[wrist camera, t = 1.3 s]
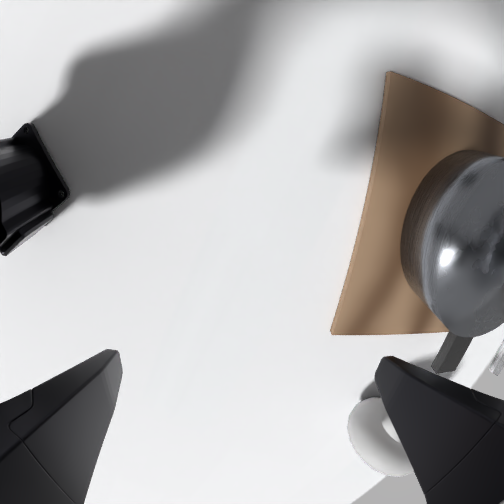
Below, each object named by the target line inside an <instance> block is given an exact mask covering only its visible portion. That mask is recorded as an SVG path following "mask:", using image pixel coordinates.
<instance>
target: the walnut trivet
mask: <svg viewBox="0 0 504 504" xmlns="http://www.w3.org/2000/svg"><path fill="white" fill-rule="evenodd" d="M462 150H477V151H481V152H485V153H489V154H493V155H497V156H501V157H504V124H502V123H500V122H499V121H497V120H495V119H494V118H492V117H490V116H488V115H487V114H485V113H483V112H481V111H479V110H477V109H475V108H474V107H472V106H470V105H468V104H466V103H464V102H462V101H460V100H458V99H456V98H454V97H452V96H449V95H447V94H445V93H443V92H441V91H439V90H436V89H434V88H432V87H429V86H427V85H425V84H422V83H420V82H417V81H415V80H412V79H410V78H407V77H405V76H402V75H399V74H397V73H394V72H391V71H389V72H386V80H385V88H384V96H383V103H382V111H381V117H380V124H379V130H378V136H377V142H376V148H375V154H374V159H373V165H372V170H371V175H370V180H369V185H368V190H367V194H366V199H365V204H364V208H363V212H362V217H361V221H360V225H359V230H358V234H357V238H356V242H355V246H354V250H353V253H352V257H351V261H350V265H349V269H348V272H347V276H346V279H345V283H344V286H343V290H342V293H341V297H340V300H339V303H338V307H337V310H336V313H335V317H334V320H333V323H332V326H331V329H330V332H331V334H332V335H391V334H418V333H437V332H449V330H448V329H447V328H446V326H445V325H444V324H443V323H442V322H441V321H440V320H439V319H438V317H437V316H436V315H435V314H434V313H433V312H432V311H431V310H430V309H429V308H428V307H427V305H426V304H425V303H424V302H423V301H422V300H421V299H420V298H419V297H418V296H417V295H416V294H415V293H414V291H413V290H412V289H411V288H410V286H409V284H408V283H407V281H406V278H405V276H404V273H403V269H402V265H401V257H400V241H401V232H402V227H403V222H404V219H405V215H406V212H407V209H408V206H409V204H410V202H411V199H412V197H413V195H414V193H415V191H416V189H417V187H418V186H419V184H420V183H421V181H422V180H423V178H424V177H425V176H426V175H427V173H428V172H429V171H430V170H431V169H432V168H433V167H434V166H435V165H436V164H437V163H438V162H439V161H441V160H442V159H444V158H445V157H446V156H448V155H450V154H453V153H455V152H458V151H462Z"/></svg>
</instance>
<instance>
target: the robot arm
mask: <svg viewBox="0 0 504 504" xmlns="http://www.w3.org/2000/svg"><path fill="white" fill-rule="evenodd" d="M27 128H29V132H28V133H27ZM61 190H62V191H63V192H64V196H62V195H61ZM69 195H70V191H69V188H68V187H67V185H66V183H65V182H64V180H63V178H62V177H61V175H60V173H59V171H58V170H57V168H56V166H55V164H54V163H53V161H52V159H51V157H50V155H49V154H48V152H47V150H46V148H45V146H44V144H43V142H42V140H41V139H40V137H39V135H38V133H37V131H36V129H35V127H34V125H33V124H32V123H25V124H24V125H23V126H22V127H21V128H20V129H19V130H18V131H17V132H16V133H15V134H14V135H13V137H12V138H7V139H2V140H0V252H1V254H2V255H3V256H7V255H8V254H9V253H11V252H12V251H13V250H15V249H16V248H17V247H19V246H20V245H21V244H23V243H24V242H25V241H27V240H28V239H29V238H31V237H32V236H33V235H35V234H36V233H37V232H38V231H39V230H40V229H41V228H42V227H44V226H45V225H46V224H47V223H48V222H49V221H50V220H52V219H53V213H52V211H53V210H55V209H56V208H57V207H58V206H59V205H60V204H62V203H63V202H64V201H65V200H66V199H68V197H69ZM121 379H122V364H121V359H120V354H119V352H118V351H117V350H111V349H106V350H104V351H102V352H100V353H99V354H97V355H95V356H93V357H91V358H89V359H87V360H85V361H84V362H82V363H80V364H78V365H76V366H74V367H72V368H70V369H69V370H67V371H65V372H63V373H61V374H59V375H57V376H55V377H53V378H52V379H50V380H48V381H46V382H44V383H42V384H40V385H38V386H36V387H34V388H33V389H32V390H31V389H30V390H28V391H26V392H24V393H22V394H20V395H18V396H16V397H14V398H12V399H10V400H7V401H5V402H3V403H0V504H84V501H85V498H86V494H87V491H88V488H89V484H90V481H91V478H92V475H93V472H94V468H95V465H96V462H97V459H98V456H99V453H100V450H101V447H102V444H103V441H104V438H105V435H106V433H107V430H108V427H109V424H110V421H111V418H112V416H113V413H114V410H115V406H116V401H117V397H118V392H119V388H120V383H121ZM375 382H376V384H377V387H378V390H379V393H380V396H381V399H382V402H383V405H384V407H385V410H386V412H387V414H388V416H389V418H390V420H391V423H392V425H393V427H394V429H395V431H396V433H397V435H398V437H399V439H400V442H401V444H402V446H403V448H404V450H405V452H406V455H407V457H408V459H409V461H410V463H411V466H412V468H413V470H414V472H415V475H416V477H417V479H418V481H419V484H420V486H421V488H422V491H423V493H424V494H425V498H426V502H427V504H504V400H501V399H498V398H495V397H492V396H489V395H486V394H483V393H481V392H478V391H476V390H473V389H471V390H470V388H468V387H465V386H463V385H460V384H458V383H455V382H453V381H451V380H448V379H446V378H443V377H441V376H438V375H436V374H434V373H431V372H429V371H427V370H424V369H422V368H419V367H417V366H415V365H412V364H410V363H408V362H405V361H403V360H401V359H399V358H396V357H394V356H386V357H383V358H382V359H381V361H380V363H379V366H378V368H377V370H376V372H375Z"/></svg>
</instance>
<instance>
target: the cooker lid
mask: <svg viewBox="0 0 504 504" xmlns="http://www.w3.org/2000/svg"><path fill="white" fill-rule="evenodd" d="M503 367H504V340H503V342H502V344H501V346H500V348H499V350H498V352H497V353H496V355H495V357H494V359H493V361H492V364H491V366H490V368H489V370H490V371H491V372H492V373H494V374H495V375H496V376H498V375H499V373H500V372H501V370H502V369H503Z"/></svg>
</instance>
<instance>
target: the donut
mask: <svg viewBox="0 0 504 504" xmlns="http://www.w3.org/2000/svg"><path fill="white" fill-rule="evenodd" d="M347 429H348V434H349V439H350V442H351V444H352V446H353V448H354V450H355V452H356V453H357V454H358V456H359V457H360V458H361V459H362V460H363V462H364V463H366V464H367V465H368V466H370V467H371V468H372V469H373V470H375V471H377V472H380V473H382V474H384V475H387V476H396V477H399V476H404V475H407V474H410V473H412V472H414V470H413V468H412V466H411V463H410V461H409V459H408V457H407V455H406V452H405V450H404V448H403V446H402V444H401V442H400V439H399V437H398V435H397V433H396V431H395V429H394V427H393V425H392V423H391V420H390V418H389V416H388V414H387V412H386V410H385V407H384V405H383V402H382V399H381V398H374V397H371V398H368V399H366V400H363V401H361V402H359V403H358V404H357V405H356V406H355V407H354V409H353V410H352V412H351V413H350V415H349V418H348V426H347Z"/></svg>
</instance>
